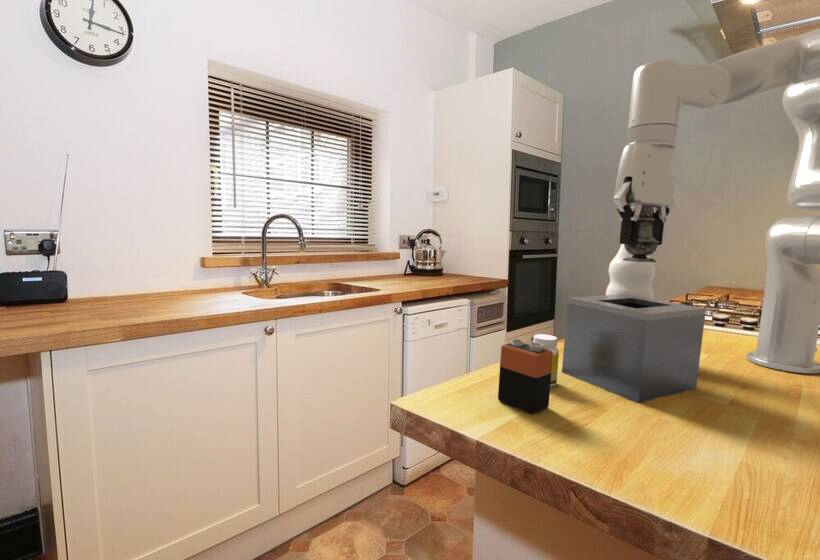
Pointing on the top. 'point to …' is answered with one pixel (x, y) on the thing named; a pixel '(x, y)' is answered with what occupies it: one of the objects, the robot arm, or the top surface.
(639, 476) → the top surface
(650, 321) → the grey hollow block
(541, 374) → the battery
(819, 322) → the robot arm
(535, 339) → the supplement bottle
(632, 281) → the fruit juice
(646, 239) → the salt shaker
